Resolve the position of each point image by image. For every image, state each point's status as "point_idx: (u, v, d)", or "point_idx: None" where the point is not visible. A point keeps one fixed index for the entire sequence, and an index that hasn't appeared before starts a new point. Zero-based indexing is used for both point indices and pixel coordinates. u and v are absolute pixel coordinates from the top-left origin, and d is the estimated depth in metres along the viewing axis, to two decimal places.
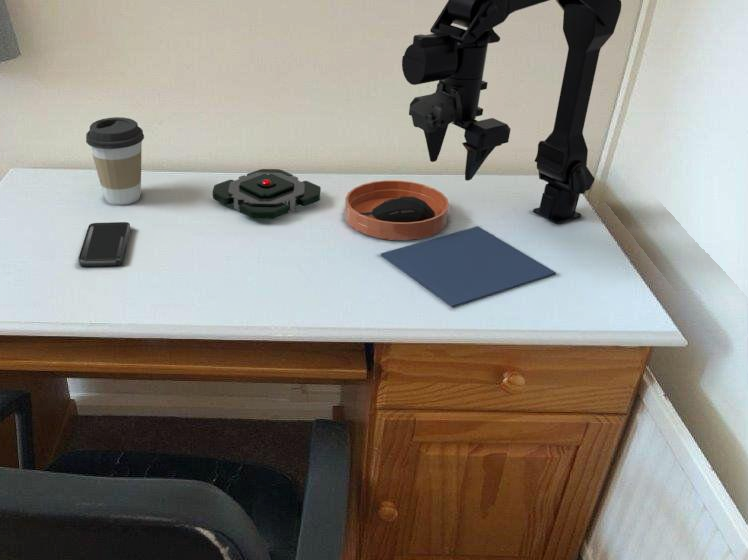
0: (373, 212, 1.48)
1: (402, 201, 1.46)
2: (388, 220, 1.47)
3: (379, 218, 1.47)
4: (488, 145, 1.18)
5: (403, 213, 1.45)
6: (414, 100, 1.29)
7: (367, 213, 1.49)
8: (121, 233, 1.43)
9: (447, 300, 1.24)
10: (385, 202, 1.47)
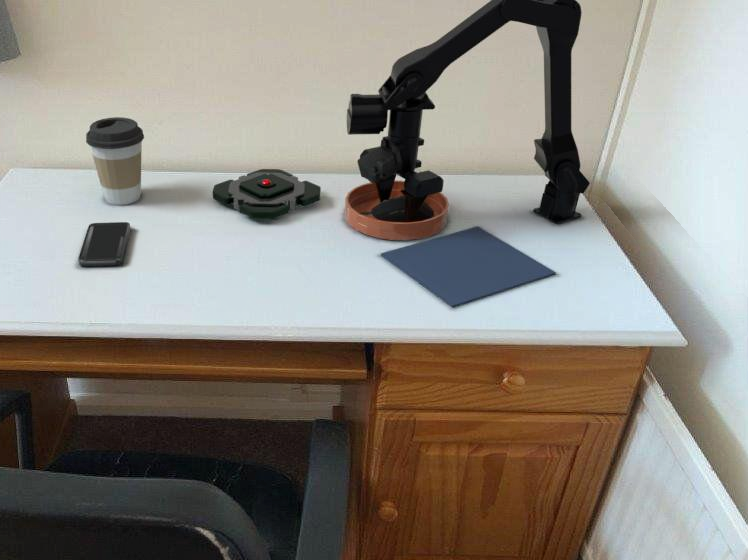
0: (372, 212, 1.48)
1: (402, 200, 1.46)
2: (388, 220, 1.47)
3: (379, 218, 1.47)
4: (424, 194, 1.36)
5: (403, 212, 1.45)
6: (363, 152, 1.47)
7: (366, 213, 1.49)
8: (121, 233, 1.43)
9: (447, 300, 1.24)
10: (384, 202, 1.47)
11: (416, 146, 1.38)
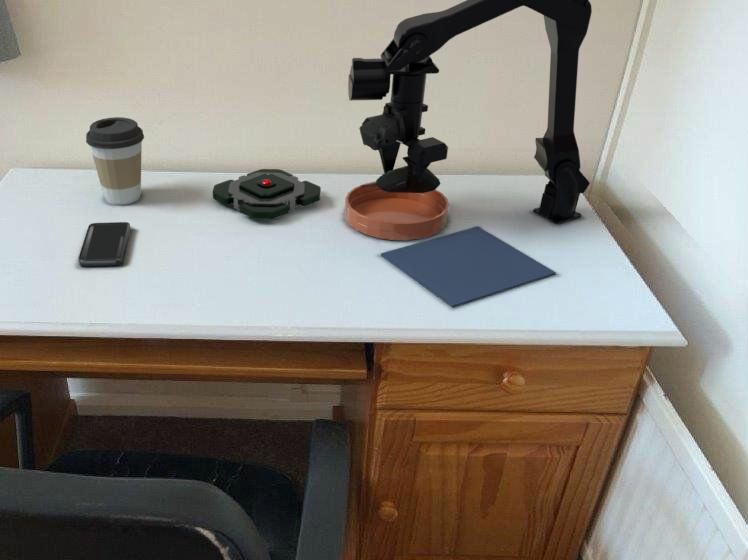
0: (378, 183, 1.44)
1: None
2: (395, 191, 1.43)
3: (385, 189, 1.43)
4: (428, 162, 1.33)
5: None
6: (366, 120, 1.44)
7: (371, 185, 1.45)
8: (121, 233, 1.43)
9: (447, 300, 1.24)
10: (390, 172, 1.43)
11: (420, 112, 1.35)
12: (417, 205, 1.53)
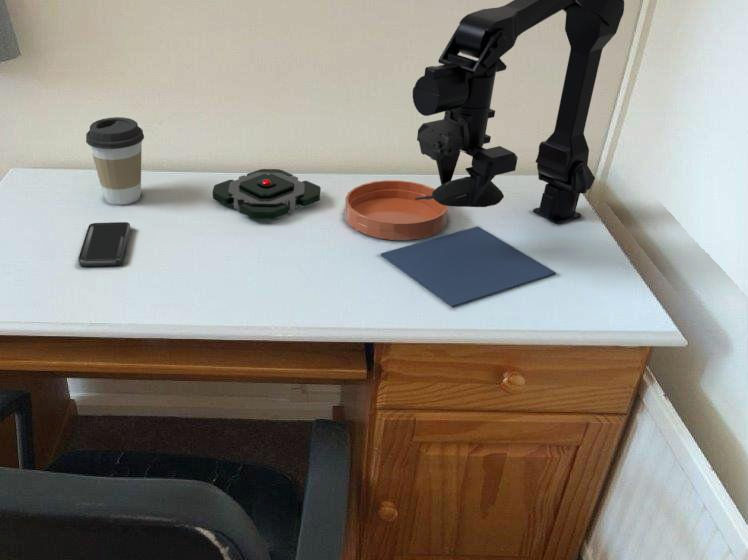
0: (435, 196, 1.31)
1: (469, 182, 1.29)
2: (454, 204, 1.29)
3: (443, 203, 1.30)
4: (495, 173, 1.19)
5: None
6: (422, 126, 1.30)
7: (427, 197, 1.31)
8: (121, 233, 1.43)
9: (447, 300, 1.24)
10: (448, 184, 1.30)
11: (486, 118, 1.21)
12: (417, 205, 1.53)
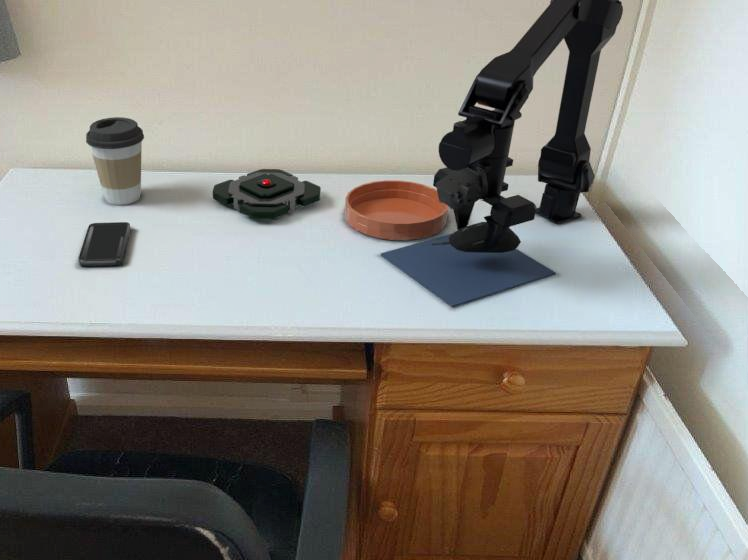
0: (452, 242, 1.30)
1: (486, 228, 1.28)
2: (471, 251, 1.29)
3: (460, 249, 1.29)
4: (514, 223, 1.19)
5: None
6: (438, 172, 1.30)
7: (444, 243, 1.31)
8: (121, 233, 1.43)
9: (447, 300, 1.24)
10: (465, 230, 1.29)
11: (504, 167, 1.21)
12: (417, 205, 1.53)
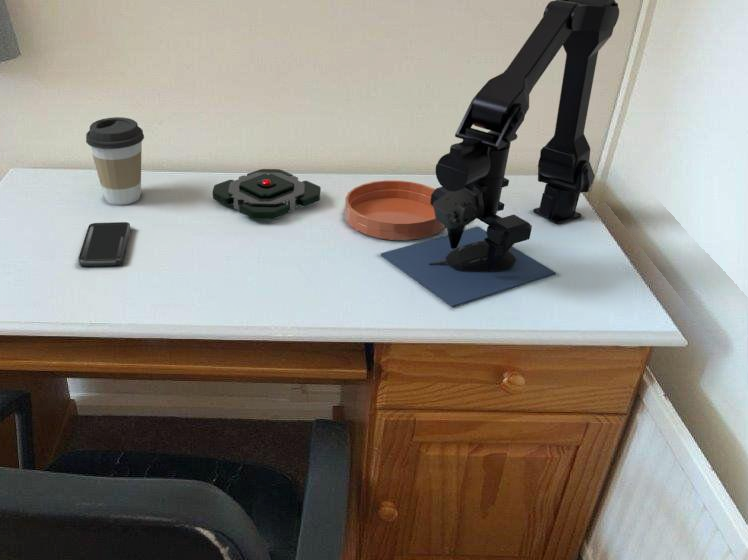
0: (449, 261, 1.32)
1: (482, 246, 1.31)
2: (468, 269, 1.31)
3: (457, 267, 1.31)
4: (510, 243, 1.21)
5: (486, 260, 1.30)
6: (436, 191, 1.32)
7: (441, 262, 1.33)
8: (121, 233, 1.43)
9: (447, 300, 1.24)
10: (462, 249, 1.32)
11: (500, 187, 1.23)
12: (417, 205, 1.53)
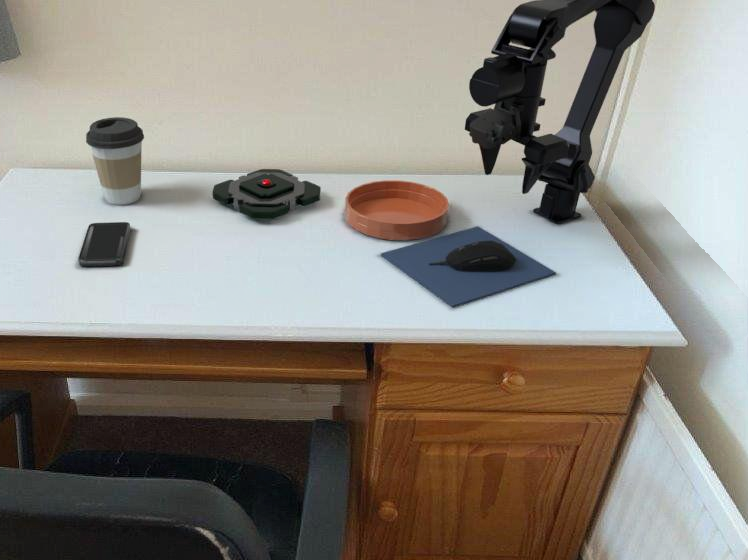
0: (449, 261, 1.32)
1: (482, 246, 1.31)
2: (468, 269, 1.31)
3: (457, 267, 1.31)
4: (548, 161, 1.22)
5: (486, 260, 1.30)
6: (470, 115, 1.32)
7: (441, 262, 1.33)
8: (121, 233, 1.43)
9: (447, 300, 1.24)
10: (462, 249, 1.32)
11: (537, 106, 1.23)
12: (417, 205, 1.53)
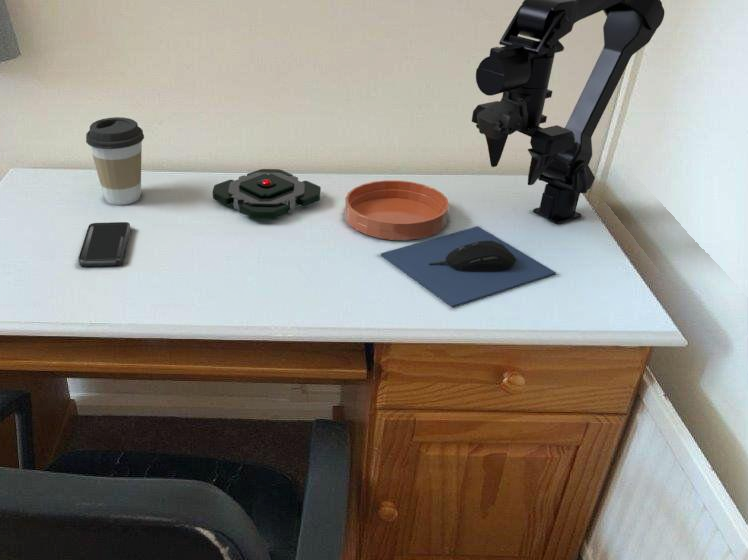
0: (449, 261, 1.32)
1: (482, 246, 1.31)
2: (468, 269, 1.31)
3: (457, 267, 1.31)
4: (554, 151, 1.23)
5: (486, 260, 1.30)
6: (477, 107, 1.34)
7: (441, 262, 1.33)
8: (121, 233, 1.43)
9: (447, 300, 1.24)
10: (462, 249, 1.32)
11: (544, 98, 1.25)
12: (417, 205, 1.53)
